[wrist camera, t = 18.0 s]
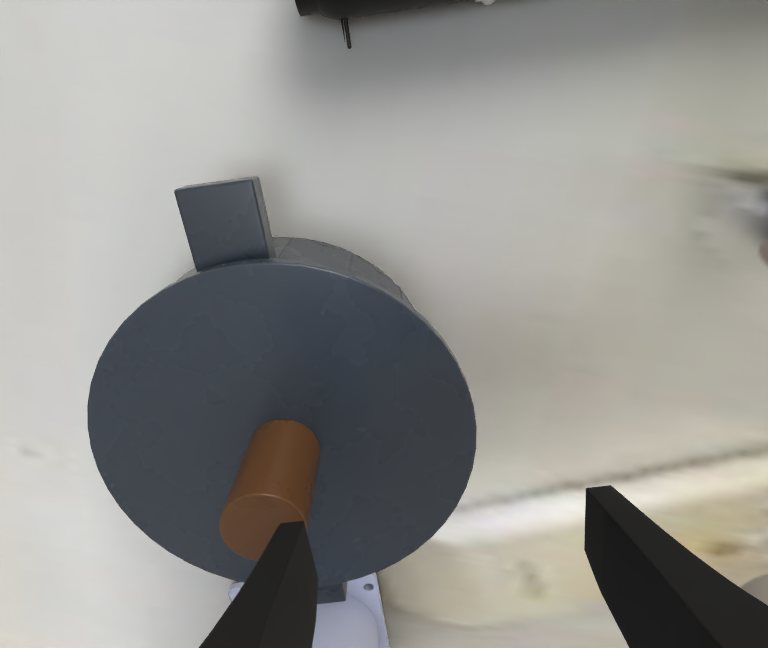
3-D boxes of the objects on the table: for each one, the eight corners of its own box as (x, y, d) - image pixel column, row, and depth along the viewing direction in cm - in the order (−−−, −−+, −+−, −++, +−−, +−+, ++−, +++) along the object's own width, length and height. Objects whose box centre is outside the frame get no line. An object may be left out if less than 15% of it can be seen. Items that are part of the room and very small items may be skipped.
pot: (407, 147, 19) (418, 157, 14) (446, 508, 26) (463, 604, 21) (95, 191, 20) (-4, 216, 14) (212, 535, 26) (173, 635, 21)
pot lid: (459, 228, 15) (492, 272, 11) (479, 547, 20) (508, 665, 16) (46, 279, 16) (-80, 340, 11) (163, 580, 21) (107, 703, 16)
